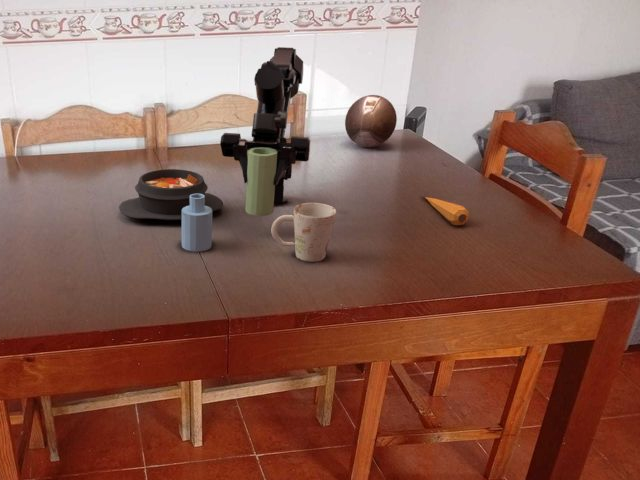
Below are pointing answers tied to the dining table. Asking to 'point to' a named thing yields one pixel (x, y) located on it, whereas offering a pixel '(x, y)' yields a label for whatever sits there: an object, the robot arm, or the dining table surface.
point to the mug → (309, 230)
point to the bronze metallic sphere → (370, 121)
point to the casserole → (167, 195)
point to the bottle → (197, 225)
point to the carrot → (450, 211)
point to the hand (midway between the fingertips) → (260, 183)
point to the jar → (261, 181)
